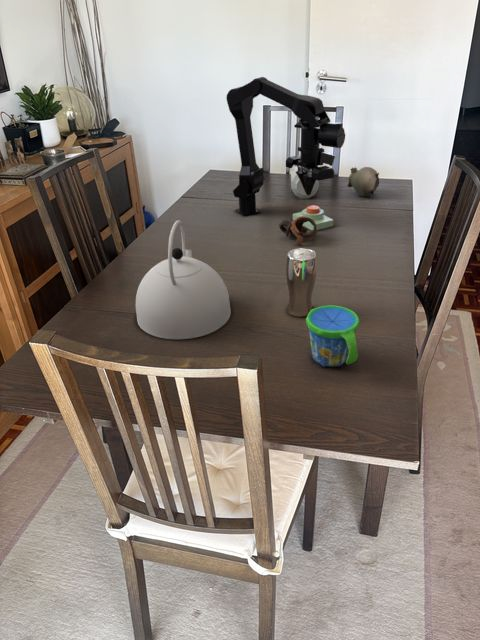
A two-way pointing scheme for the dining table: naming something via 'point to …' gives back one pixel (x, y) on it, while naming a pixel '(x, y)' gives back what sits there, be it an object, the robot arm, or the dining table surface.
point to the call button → (313, 209)
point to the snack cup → (333, 335)
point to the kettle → (181, 296)
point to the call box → (315, 219)
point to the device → (298, 187)
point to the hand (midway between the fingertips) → (308, 194)
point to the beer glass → (300, 280)
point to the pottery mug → (298, 229)
